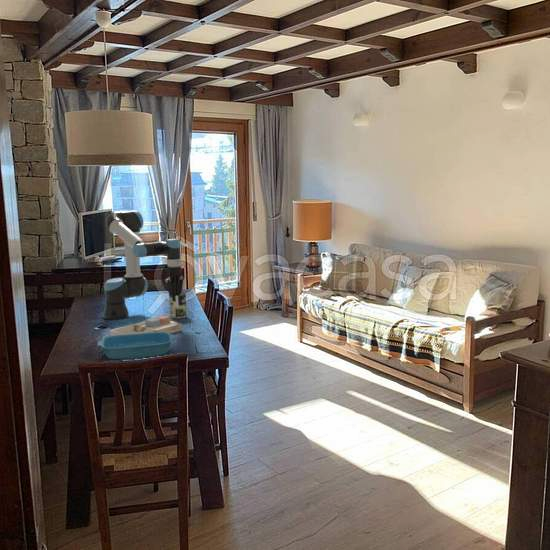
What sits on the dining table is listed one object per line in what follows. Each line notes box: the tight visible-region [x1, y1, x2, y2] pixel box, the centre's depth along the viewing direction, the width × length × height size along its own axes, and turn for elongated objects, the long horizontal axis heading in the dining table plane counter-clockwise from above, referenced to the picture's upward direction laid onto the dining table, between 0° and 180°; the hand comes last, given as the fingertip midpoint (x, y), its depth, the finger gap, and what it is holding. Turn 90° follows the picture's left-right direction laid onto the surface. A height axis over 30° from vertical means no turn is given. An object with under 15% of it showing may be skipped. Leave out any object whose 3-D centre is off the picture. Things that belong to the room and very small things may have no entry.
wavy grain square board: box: [133, 320, 183, 334], centre depth 315 cm, size 20×18×4 cm
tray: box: [108, 323, 154, 337], centre depth 302 cm, size 18×16×4 cm
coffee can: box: [168, 292, 188, 319], centre depth 348 cm, size 10×10×14 cm
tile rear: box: [154, 315, 171, 324], centre depth 318 cm, size 6×6×3 cm
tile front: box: [144, 317, 161, 327], centre depth 313 cm, size 6×6×3 cm
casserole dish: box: [97, 332, 176, 360], centre depth 276 cm, size 37×22×7 cm, turn 105°
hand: (175, 306), depth 324 cm, fingers closed
